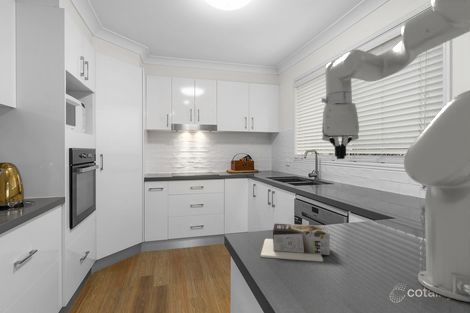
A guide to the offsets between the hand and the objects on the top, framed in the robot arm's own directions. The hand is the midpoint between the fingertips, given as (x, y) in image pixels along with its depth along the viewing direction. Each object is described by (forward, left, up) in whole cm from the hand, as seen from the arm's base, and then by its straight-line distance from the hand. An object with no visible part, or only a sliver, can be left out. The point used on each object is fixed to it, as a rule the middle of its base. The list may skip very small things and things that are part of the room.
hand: (340, 158), depth 79 cm
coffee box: (-3, +5, -24) cm, 25 cm away
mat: (-3, +16, -28) cm, 32 cm away
